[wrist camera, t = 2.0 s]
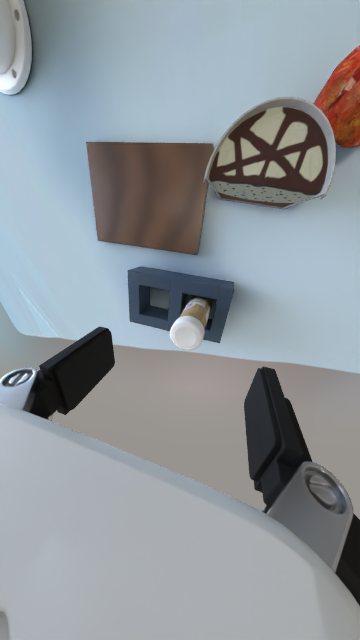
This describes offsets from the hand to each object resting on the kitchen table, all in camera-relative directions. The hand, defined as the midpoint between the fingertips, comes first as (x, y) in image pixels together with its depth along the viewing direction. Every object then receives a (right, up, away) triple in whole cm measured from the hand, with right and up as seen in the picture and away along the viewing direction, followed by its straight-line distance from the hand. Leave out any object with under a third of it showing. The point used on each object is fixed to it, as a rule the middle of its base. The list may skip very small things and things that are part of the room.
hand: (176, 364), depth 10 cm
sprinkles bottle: (+5, +6, +23) cm, 24 cm away
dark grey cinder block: (+1, +7, +24) cm, 25 cm away
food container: (+11, +23, +13) cm, 29 cm away
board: (-5, +23, +18) cm, 29 cm away
